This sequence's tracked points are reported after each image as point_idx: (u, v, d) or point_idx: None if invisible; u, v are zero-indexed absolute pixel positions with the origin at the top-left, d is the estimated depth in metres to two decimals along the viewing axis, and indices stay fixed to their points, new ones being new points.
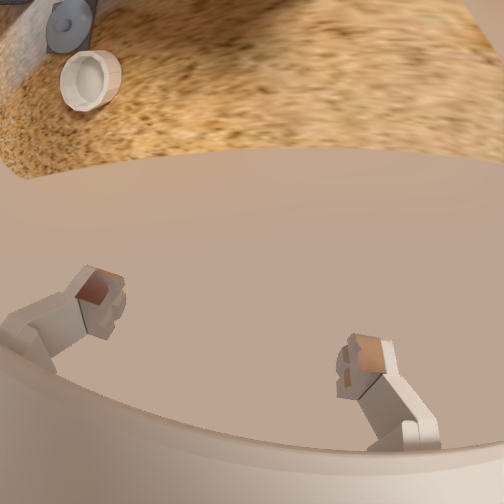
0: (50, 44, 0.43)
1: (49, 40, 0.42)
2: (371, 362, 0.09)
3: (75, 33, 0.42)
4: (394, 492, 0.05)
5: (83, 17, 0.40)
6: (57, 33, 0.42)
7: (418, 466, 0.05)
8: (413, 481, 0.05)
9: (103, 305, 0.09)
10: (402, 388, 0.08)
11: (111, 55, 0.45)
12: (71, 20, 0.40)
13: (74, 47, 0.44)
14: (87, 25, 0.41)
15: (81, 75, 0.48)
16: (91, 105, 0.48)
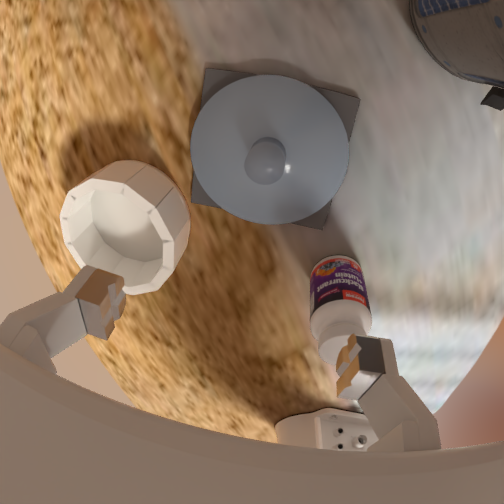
0: (227, 92, 0.21)
1: (239, 91, 0.21)
2: (371, 362, 0.09)
3: (236, 181, 0.25)
4: (394, 492, 0.05)
5: (274, 206, 0.26)
6: (253, 120, 0.22)
7: (418, 466, 0.05)
8: (413, 481, 0.05)
9: (103, 305, 0.09)
10: (402, 388, 0.08)
11: None
12: None
13: (200, 177, 0.25)
14: (249, 215, 0.27)
15: None
16: (75, 253, 0.28)
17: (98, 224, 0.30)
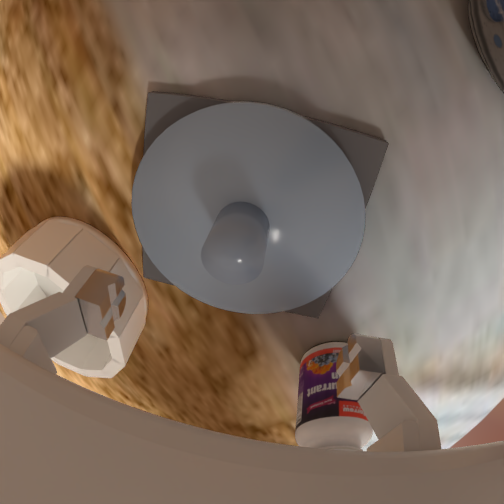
0: (177, 132, 0.14)
1: (196, 129, 0.14)
2: (371, 362, 0.09)
3: (199, 260, 0.18)
4: (394, 492, 0.05)
5: (252, 293, 0.19)
6: (219, 176, 0.15)
7: (418, 466, 0.05)
8: (413, 481, 0.05)
9: (103, 305, 0.09)
10: (402, 388, 0.08)
11: None
12: None
13: (149, 251, 0.18)
14: (219, 302, 0.20)
15: None
16: None
17: (44, 287, 0.23)
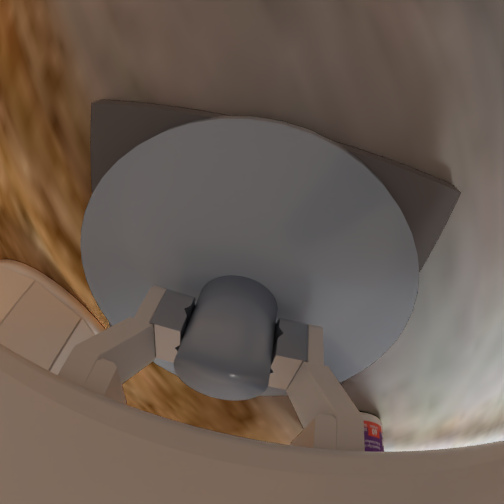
0: (133, 168, 0.08)
1: (161, 165, 0.08)
2: (292, 348, 0.09)
3: None
4: (394, 492, 0.05)
5: None
6: (200, 238, 0.10)
7: (418, 466, 0.05)
8: (413, 481, 0.05)
9: (182, 330, 0.09)
10: (324, 378, 0.08)
11: None
12: None
13: (114, 321, 0.13)
14: None
15: None
16: None
17: None
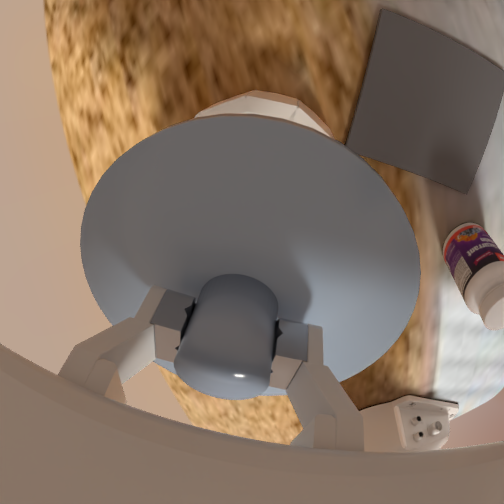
0: (133, 166, 0.08)
1: (162, 162, 0.08)
2: (291, 348, 0.09)
3: None
4: (394, 492, 0.05)
5: None
6: (201, 236, 0.09)
7: (418, 466, 0.05)
8: (413, 481, 0.05)
9: (182, 330, 0.09)
10: (324, 378, 0.08)
11: None
12: None
13: (113, 320, 0.13)
14: None
15: None
16: None
17: None
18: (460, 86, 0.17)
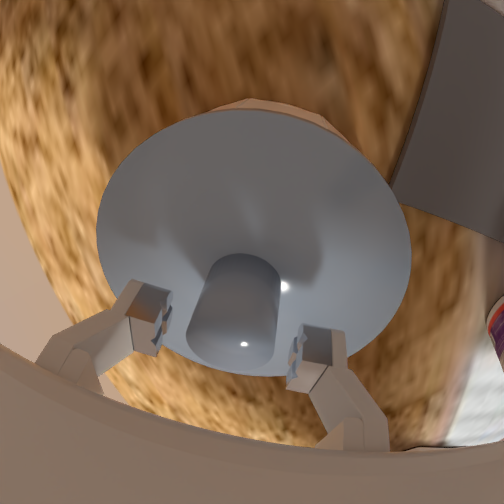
0: (151, 154, 0.09)
1: (177, 151, 0.09)
2: (317, 353, 0.09)
3: (187, 318, 0.14)
4: (394, 492, 0.05)
5: None
6: (211, 218, 0.10)
7: (418, 466, 0.05)
8: (413, 481, 0.05)
9: (157, 322, 0.09)
10: (349, 382, 0.08)
11: None
12: None
13: None
14: None
15: None
16: None
17: None
18: None
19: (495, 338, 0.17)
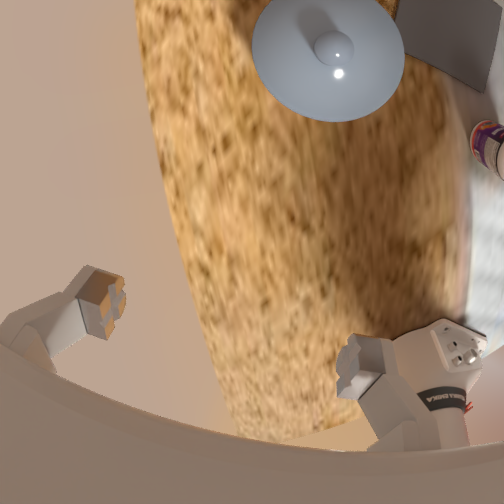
0: None
1: None
2: (371, 362, 0.09)
3: (297, 74, 0.22)
4: (394, 492, 0.05)
5: (333, 101, 0.23)
6: (317, 18, 0.19)
7: (418, 466, 0.05)
8: (413, 481, 0.05)
9: (103, 305, 0.09)
10: (402, 388, 0.08)
11: None
12: (339, 66, 0.21)
13: (259, 68, 0.22)
14: (307, 110, 0.24)
15: None
16: None
17: None
18: (468, 11, 0.18)
19: (477, 148, 0.25)
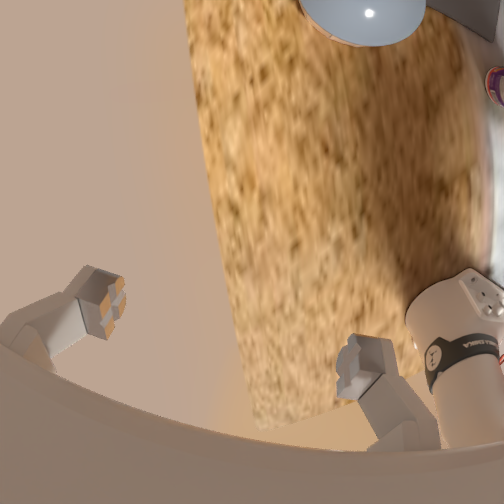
0: None
1: None
2: (371, 362, 0.09)
3: (336, 4, 0.21)
4: (394, 492, 0.05)
5: (368, 28, 0.22)
6: None
7: (418, 466, 0.05)
8: (413, 481, 0.05)
9: (103, 305, 0.09)
10: (402, 388, 0.08)
11: None
12: (371, 0, 0.20)
13: None
14: (345, 35, 0.22)
15: None
16: None
17: None
18: None
19: (493, 88, 0.24)
